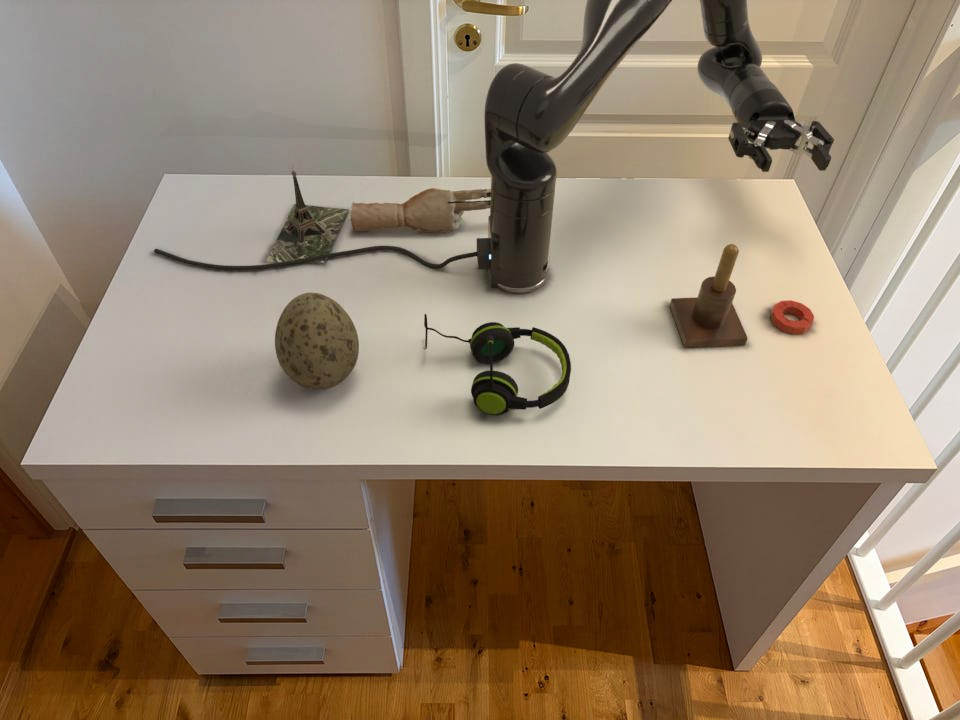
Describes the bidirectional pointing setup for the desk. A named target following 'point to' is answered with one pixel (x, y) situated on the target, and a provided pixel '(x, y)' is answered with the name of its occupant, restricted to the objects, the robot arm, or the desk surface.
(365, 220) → the mannequin hand
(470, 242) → the desk surface
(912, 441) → the desk surface
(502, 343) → the headphones
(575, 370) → the desk surface
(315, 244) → the eiffel tower figurine
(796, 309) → the ring
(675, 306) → the ring stand
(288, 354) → the decorative egg
